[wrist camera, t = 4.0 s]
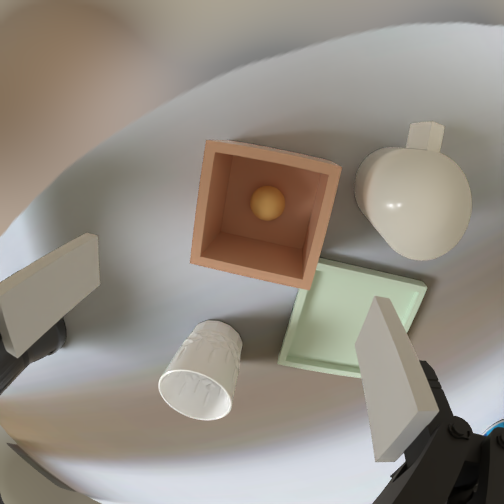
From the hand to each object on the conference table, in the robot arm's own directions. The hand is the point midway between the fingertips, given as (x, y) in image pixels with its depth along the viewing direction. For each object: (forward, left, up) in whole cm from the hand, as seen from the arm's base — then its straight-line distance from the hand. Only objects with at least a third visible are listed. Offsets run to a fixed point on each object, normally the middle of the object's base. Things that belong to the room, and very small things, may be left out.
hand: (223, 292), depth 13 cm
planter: (0, +1, -19) cm, 18 cm away
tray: (+12, -11, -18) cm, 25 cm away
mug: (+12, +6, -18) cm, 23 cm away
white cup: (-3, -18, -19) cm, 26 cm away
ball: (0, +1, -16) cm, 16 cm away
